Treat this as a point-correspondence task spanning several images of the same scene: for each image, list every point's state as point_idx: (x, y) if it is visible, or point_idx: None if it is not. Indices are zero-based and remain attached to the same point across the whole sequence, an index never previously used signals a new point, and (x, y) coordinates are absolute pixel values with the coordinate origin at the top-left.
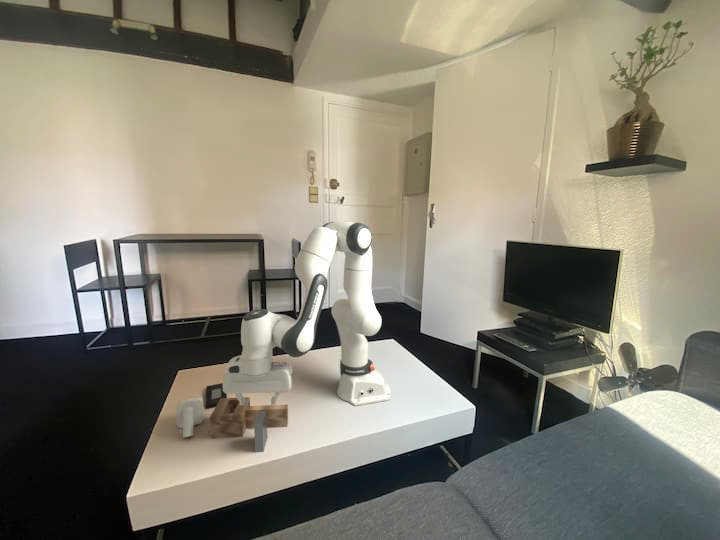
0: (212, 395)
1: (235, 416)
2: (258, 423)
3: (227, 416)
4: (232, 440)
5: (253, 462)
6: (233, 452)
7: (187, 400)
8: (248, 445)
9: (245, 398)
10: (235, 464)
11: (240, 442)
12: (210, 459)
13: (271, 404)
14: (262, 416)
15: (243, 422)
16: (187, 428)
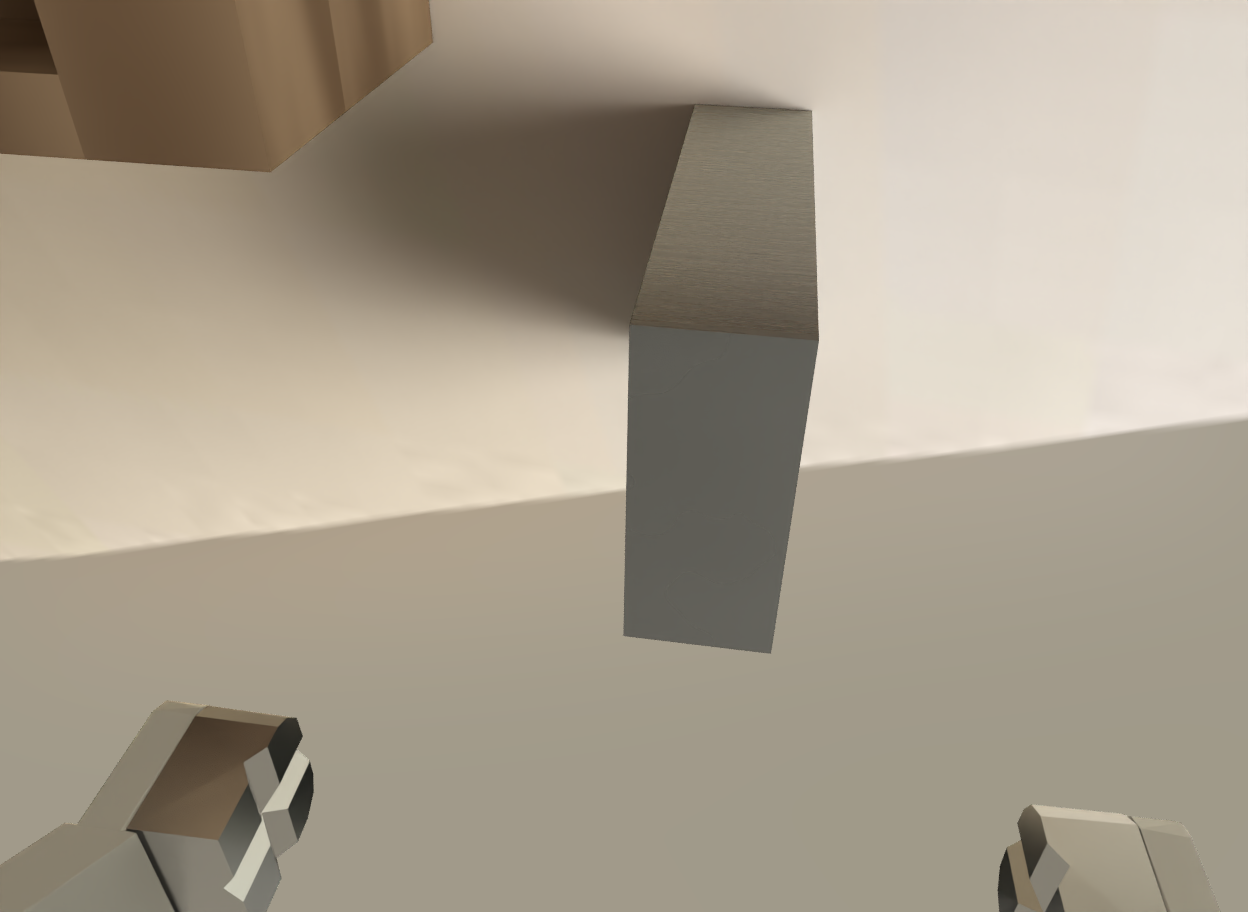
0: None
1: (159, 153)
2: (702, 644)
3: (5, 148)
4: None
5: None
6: (423, 310)
7: None
8: (567, 226)
9: (232, 872)
10: (509, 463)
11: (442, 155)
12: (224, 364)
13: (1006, 880)
14: (749, 499)
15: (349, 12)
16: None
